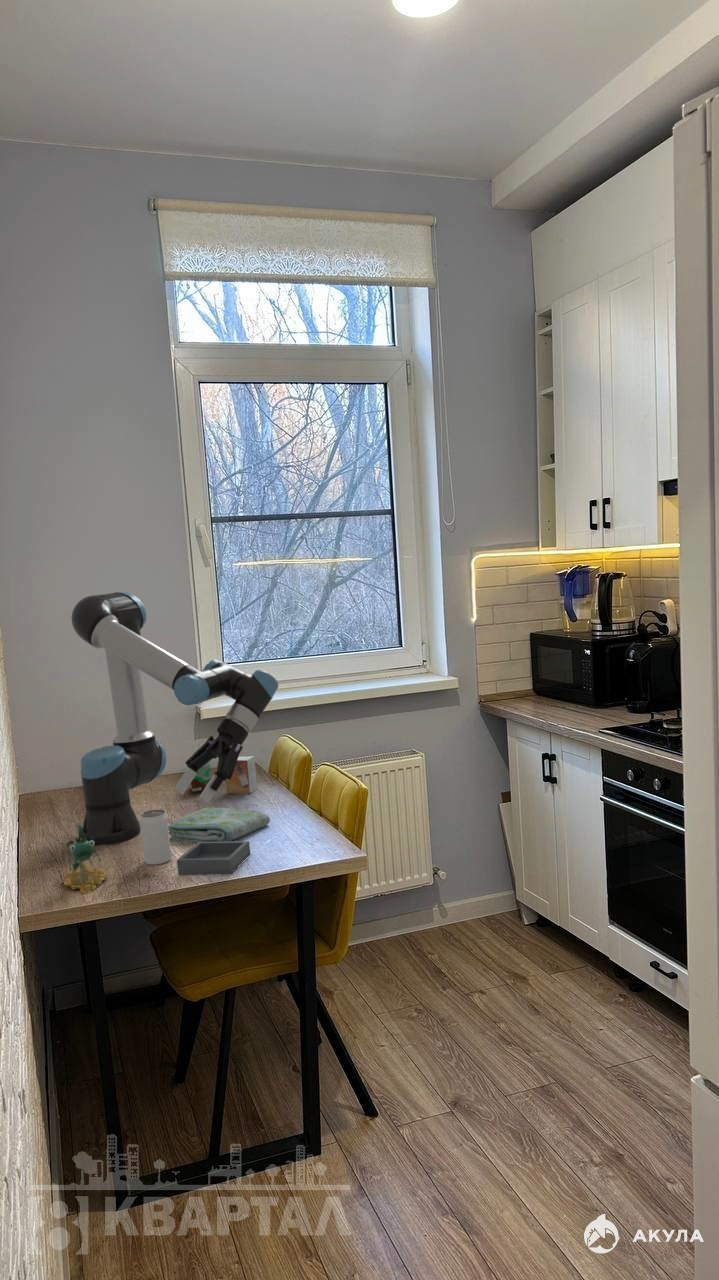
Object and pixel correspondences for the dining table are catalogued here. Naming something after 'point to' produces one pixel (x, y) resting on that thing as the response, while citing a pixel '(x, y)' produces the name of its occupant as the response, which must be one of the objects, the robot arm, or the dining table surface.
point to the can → (155, 837)
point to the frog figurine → (85, 875)
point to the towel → (217, 825)
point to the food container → (201, 778)
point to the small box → (243, 776)
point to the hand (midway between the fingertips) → (190, 796)
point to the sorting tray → (213, 858)
